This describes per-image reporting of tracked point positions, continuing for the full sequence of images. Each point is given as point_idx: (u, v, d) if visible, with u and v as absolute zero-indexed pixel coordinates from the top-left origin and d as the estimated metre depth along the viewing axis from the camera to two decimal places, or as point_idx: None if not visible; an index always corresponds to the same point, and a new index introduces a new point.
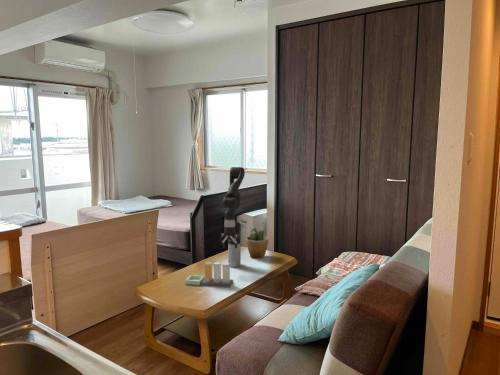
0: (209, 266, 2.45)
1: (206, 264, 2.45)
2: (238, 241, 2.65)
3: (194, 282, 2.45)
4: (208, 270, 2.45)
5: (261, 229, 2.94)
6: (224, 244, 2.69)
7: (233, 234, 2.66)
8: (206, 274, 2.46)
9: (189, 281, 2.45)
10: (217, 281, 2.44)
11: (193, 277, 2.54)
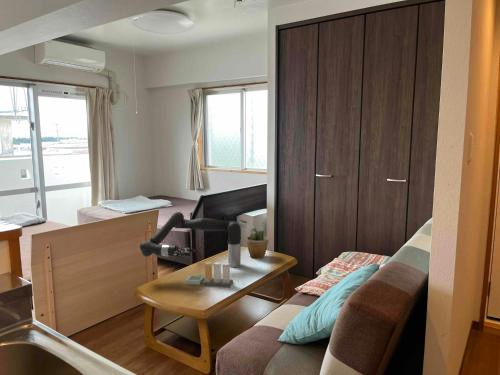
0: (209, 266, 2.45)
1: (206, 264, 2.45)
2: (188, 247, 2.55)
3: (194, 282, 2.45)
4: (208, 270, 2.45)
5: (261, 229, 2.94)
6: None
7: (179, 248, 2.52)
8: (206, 274, 2.46)
9: (189, 281, 2.45)
10: (217, 281, 2.44)
11: (193, 277, 2.54)
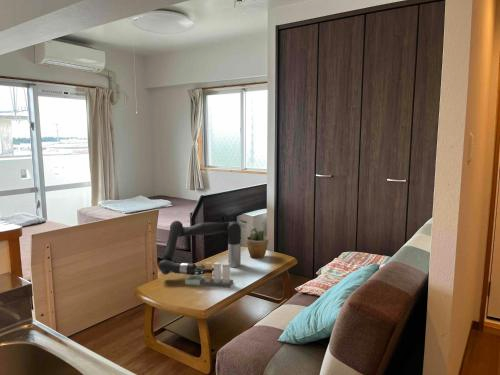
0: (209, 266, 2.45)
1: (206, 264, 2.45)
2: None
3: (194, 282, 2.45)
4: None
5: (261, 229, 2.94)
6: None
7: (198, 266, 2.52)
8: (206, 274, 2.46)
9: (189, 281, 2.45)
10: (217, 281, 2.44)
11: (193, 277, 2.54)
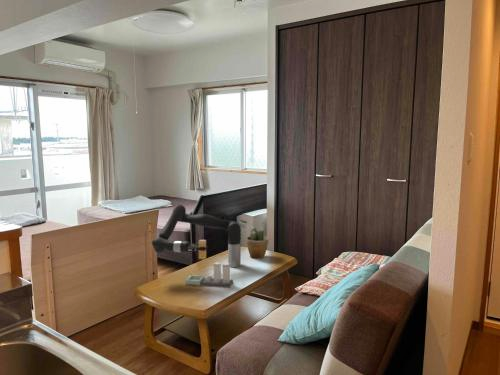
0: (203, 243, 2.43)
1: (200, 241, 2.44)
2: None
3: (194, 282, 2.45)
4: None
5: (261, 229, 2.94)
6: None
7: (191, 244, 2.50)
8: (200, 252, 2.44)
9: (189, 281, 2.45)
10: (217, 281, 2.44)
11: (193, 277, 2.54)
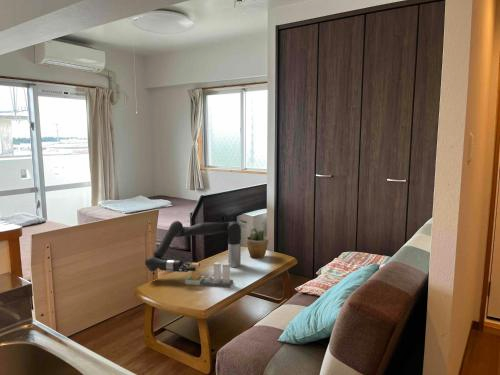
0: (195, 267, 2.47)
1: (193, 265, 2.47)
2: None
3: (194, 282, 2.45)
4: (194, 271, 2.47)
5: (261, 229, 2.94)
6: None
7: (184, 263, 2.53)
8: (193, 275, 2.48)
9: (189, 281, 2.45)
10: (217, 281, 2.44)
11: None
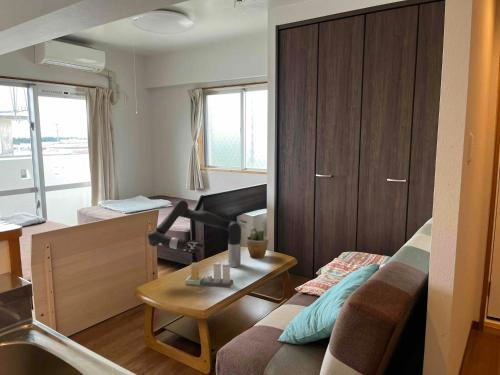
0: (195, 267, 2.47)
1: (192, 265, 2.47)
2: (196, 241, 2.53)
3: (194, 282, 2.45)
4: (194, 271, 2.47)
5: (261, 229, 2.94)
6: None
7: (188, 242, 2.50)
8: (192, 275, 2.48)
9: (189, 281, 2.45)
10: (217, 281, 2.44)
11: None
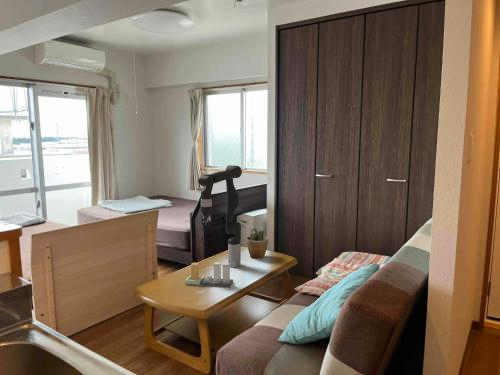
0: (195, 267, 2.47)
1: (192, 265, 2.47)
2: (211, 219, 2.60)
3: (194, 282, 2.45)
4: (194, 271, 2.47)
5: (261, 229, 2.94)
6: None
7: (209, 213, 2.56)
8: (192, 275, 2.48)
9: (189, 281, 2.45)
10: (217, 281, 2.44)
11: None
